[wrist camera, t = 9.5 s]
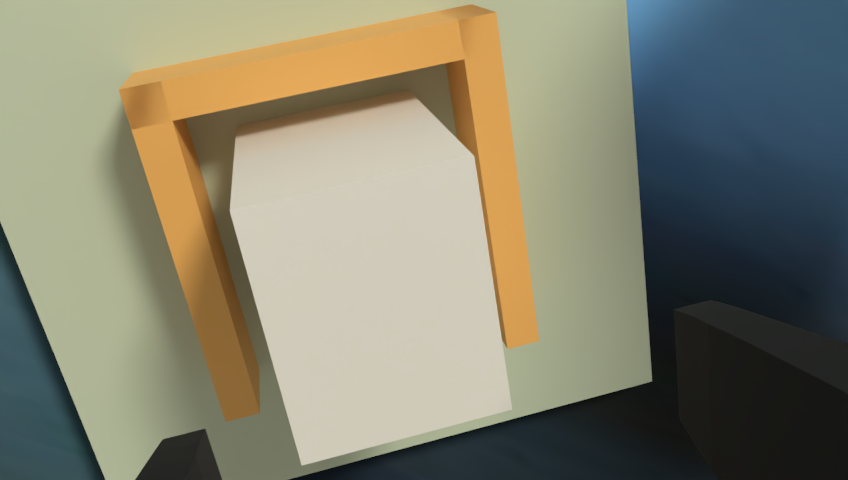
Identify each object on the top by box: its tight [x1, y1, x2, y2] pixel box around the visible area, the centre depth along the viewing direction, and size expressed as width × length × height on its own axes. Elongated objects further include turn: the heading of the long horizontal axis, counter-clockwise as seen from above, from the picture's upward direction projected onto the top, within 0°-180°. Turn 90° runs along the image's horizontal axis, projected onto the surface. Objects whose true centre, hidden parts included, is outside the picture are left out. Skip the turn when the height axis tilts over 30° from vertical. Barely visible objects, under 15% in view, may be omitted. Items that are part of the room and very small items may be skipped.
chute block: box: [230, 90, 512, 466], centre depth 16 cm, size 4×5×6 cm
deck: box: [0, 0, 652, 480], centre depth 19 cm, size 15×14×3 cm
